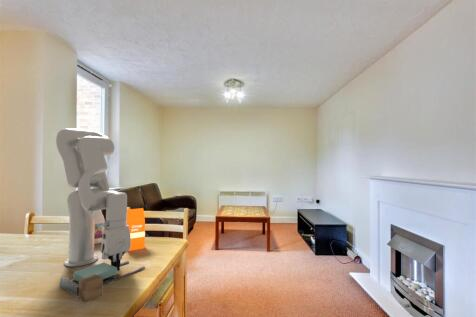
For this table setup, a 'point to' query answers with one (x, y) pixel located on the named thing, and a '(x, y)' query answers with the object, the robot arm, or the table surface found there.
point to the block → (90, 288)
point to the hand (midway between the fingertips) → (115, 270)
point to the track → (74, 287)
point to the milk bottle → (98, 226)
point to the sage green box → (97, 271)
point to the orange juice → (136, 228)
